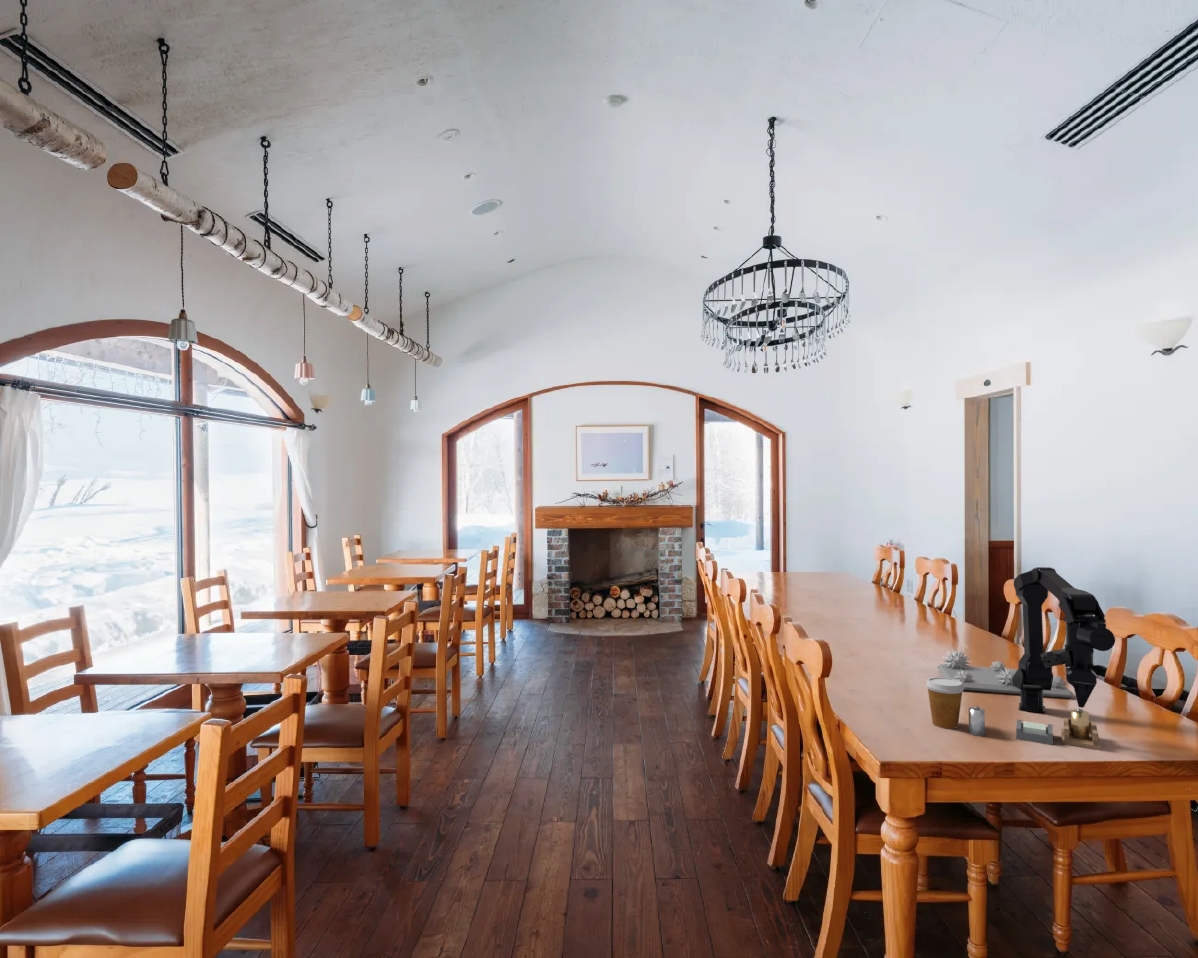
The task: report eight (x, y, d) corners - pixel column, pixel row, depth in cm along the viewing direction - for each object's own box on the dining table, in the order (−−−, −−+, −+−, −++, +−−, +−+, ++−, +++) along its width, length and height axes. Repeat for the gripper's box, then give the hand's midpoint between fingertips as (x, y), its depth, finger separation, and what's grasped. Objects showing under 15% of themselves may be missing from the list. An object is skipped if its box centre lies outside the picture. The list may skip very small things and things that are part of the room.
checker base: (1017, 729, 188) (1017, 719, 188) (1052, 735, 184) (1052, 724, 184) (1016, 738, 181) (1016, 728, 181) (1052, 744, 177) (1052, 733, 177)
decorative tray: (949, 692, 223) (949, 661, 224) (936, 671, 248) (935, 643, 248) (1075, 701, 213) (1074, 668, 213) (1048, 678, 238) (1047, 649, 238)
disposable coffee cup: (952, 718, 197) (952, 676, 197) (971, 730, 188) (971, 686, 188) (919, 719, 197) (919, 676, 197) (937, 731, 187) (936, 686, 187)
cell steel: (969, 729, 188) (969, 703, 188) (985, 732, 186) (985, 706, 186) (968, 734, 185) (967, 707, 185) (984, 737, 183) (984, 710, 183)
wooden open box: (1061, 732, 186) (1061, 717, 186) (1098, 737, 182) (1098, 722, 182) (1062, 743, 178) (1062, 728, 178) (1100, 750, 173) (1100, 734, 173)
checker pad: (1023, 724, 186) (1023, 721, 186) (1045, 728, 183) (1045, 724, 183) (1023, 730, 182) (1023, 726, 182) (1045, 734, 179) (1045, 730, 179)
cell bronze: (1071, 733, 182) (1070, 706, 182) (1088, 735, 180) (1088, 708, 180) (1071, 737, 179) (1071, 710, 179) (1089, 740, 177) (1089, 712, 177)
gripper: (1042, 632, 192) (1043, 688, 192) (1042, 645, 176) (1043, 706, 176) (1092, 636, 186) (1092, 695, 186) (1096, 650, 170) (1097, 714, 170)
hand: (1080, 702), depth 179 cm, fingers open, 9 cm apart
